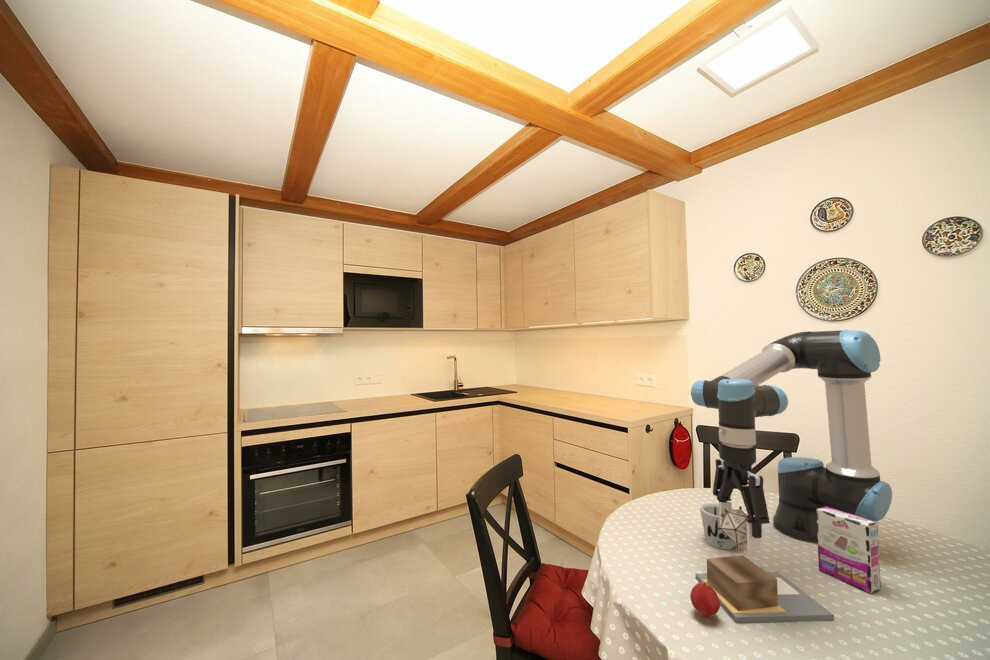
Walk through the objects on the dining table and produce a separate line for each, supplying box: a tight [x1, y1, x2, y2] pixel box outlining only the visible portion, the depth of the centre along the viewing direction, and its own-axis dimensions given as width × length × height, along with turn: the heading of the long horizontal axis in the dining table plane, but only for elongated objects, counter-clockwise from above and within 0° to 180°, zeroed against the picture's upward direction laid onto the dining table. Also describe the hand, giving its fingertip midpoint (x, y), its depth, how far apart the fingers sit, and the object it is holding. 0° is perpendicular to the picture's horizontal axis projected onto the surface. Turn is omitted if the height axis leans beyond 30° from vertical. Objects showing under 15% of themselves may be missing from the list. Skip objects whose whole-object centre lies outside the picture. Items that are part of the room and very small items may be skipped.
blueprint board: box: [694, 571, 835, 624], centre depth 92 cm, size 22×16×2 cm
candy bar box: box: [816, 506, 882, 595], centre depth 99 cm, size 11×5×16 cm, turn 23°
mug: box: [699, 503, 736, 550], centre depth 120 cm, size 10×15×10 cm
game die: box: [717, 505, 749, 549], centre depth 92 cm, size 9×8×10 cm
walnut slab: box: [706, 555, 778, 611], centre depth 91 cm, size 10×10×6 cm
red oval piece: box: [689, 581, 721, 619], centre depth 86 cm, size 6×6×8 cm
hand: (739, 539), depth 92 cm, fingers closed on game die, 9 cm apart
